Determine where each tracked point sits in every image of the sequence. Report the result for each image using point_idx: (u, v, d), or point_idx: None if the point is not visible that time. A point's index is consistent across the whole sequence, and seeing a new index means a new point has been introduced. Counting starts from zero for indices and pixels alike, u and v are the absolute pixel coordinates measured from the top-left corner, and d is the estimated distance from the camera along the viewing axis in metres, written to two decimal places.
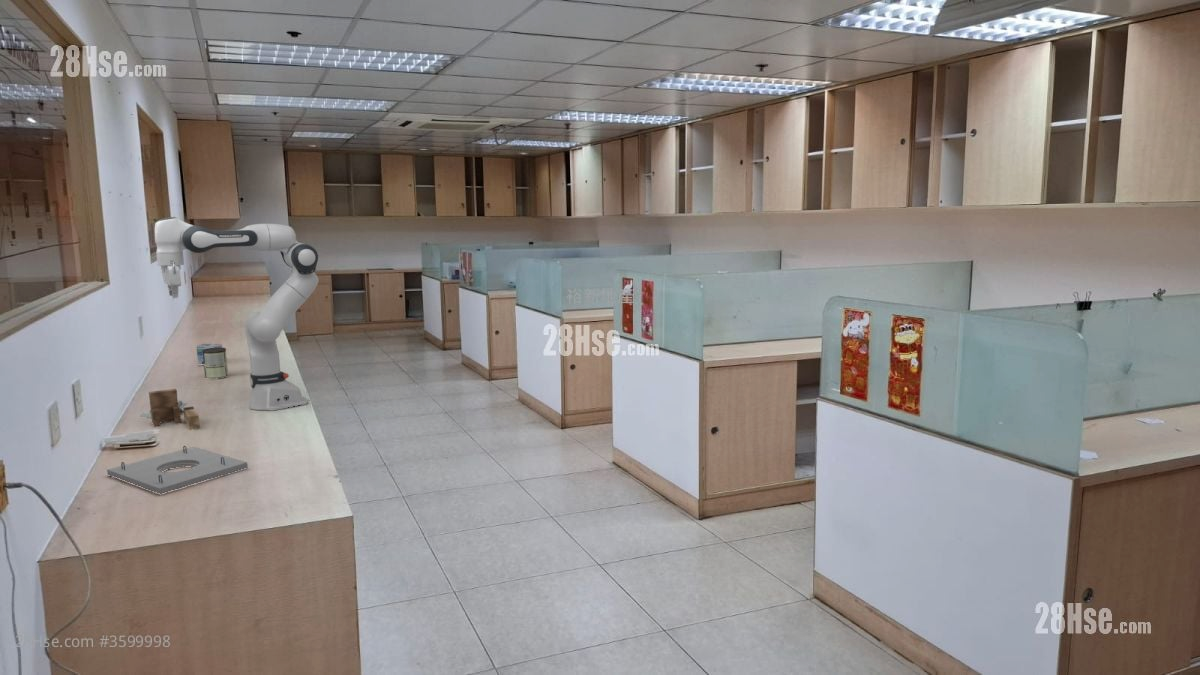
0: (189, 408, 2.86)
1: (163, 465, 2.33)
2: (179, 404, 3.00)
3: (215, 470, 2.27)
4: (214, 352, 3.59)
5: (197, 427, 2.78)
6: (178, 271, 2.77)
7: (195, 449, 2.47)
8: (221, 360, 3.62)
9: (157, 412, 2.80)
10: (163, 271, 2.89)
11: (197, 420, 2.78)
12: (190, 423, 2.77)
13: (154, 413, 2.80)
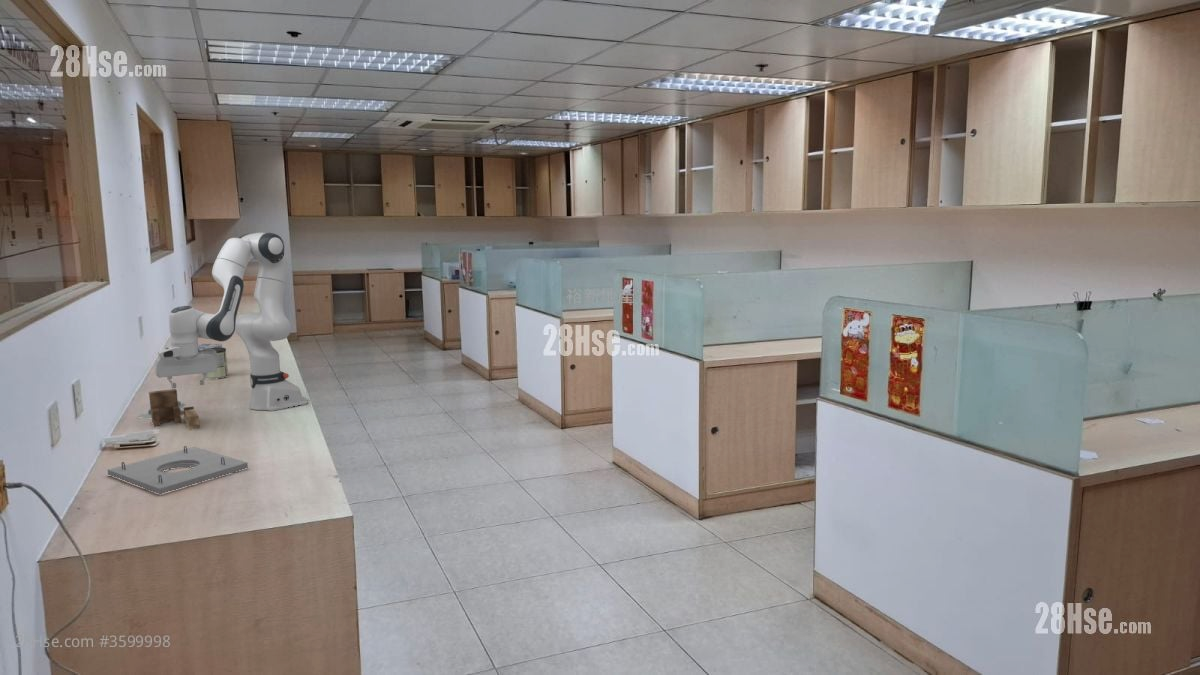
0: (189, 408, 2.86)
1: (163, 465, 2.33)
2: None
3: (215, 470, 2.27)
4: None
5: (197, 427, 2.78)
6: None
7: (196, 449, 2.47)
8: (221, 360, 3.62)
9: (157, 412, 2.80)
10: (162, 365, 2.73)
11: (197, 420, 2.78)
12: (190, 423, 2.77)
13: (154, 413, 2.80)
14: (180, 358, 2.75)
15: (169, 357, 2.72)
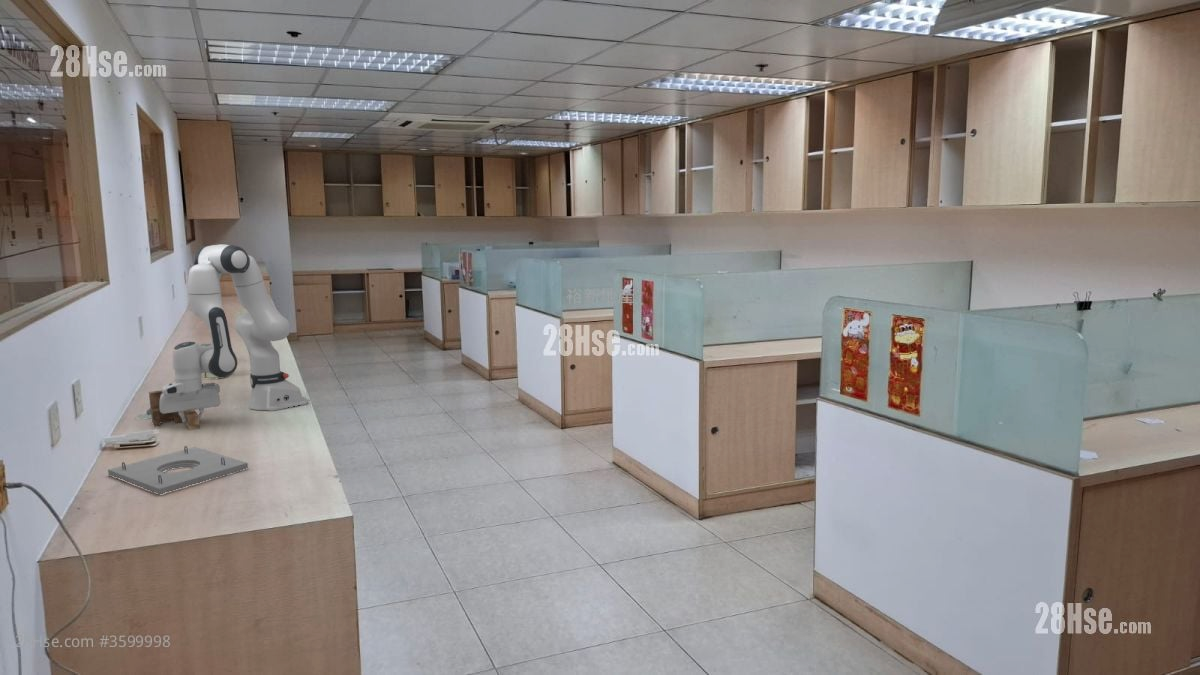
0: None
1: (164, 465, 2.33)
2: None
3: (215, 470, 2.27)
4: None
5: (197, 427, 2.78)
6: None
7: (196, 449, 2.47)
8: None
9: (157, 412, 2.80)
10: (166, 401, 2.75)
11: (197, 420, 2.78)
12: (190, 423, 2.77)
13: (154, 413, 2.80)
14: (184, 394, 2.77)
15: (173, 393, 2.75)
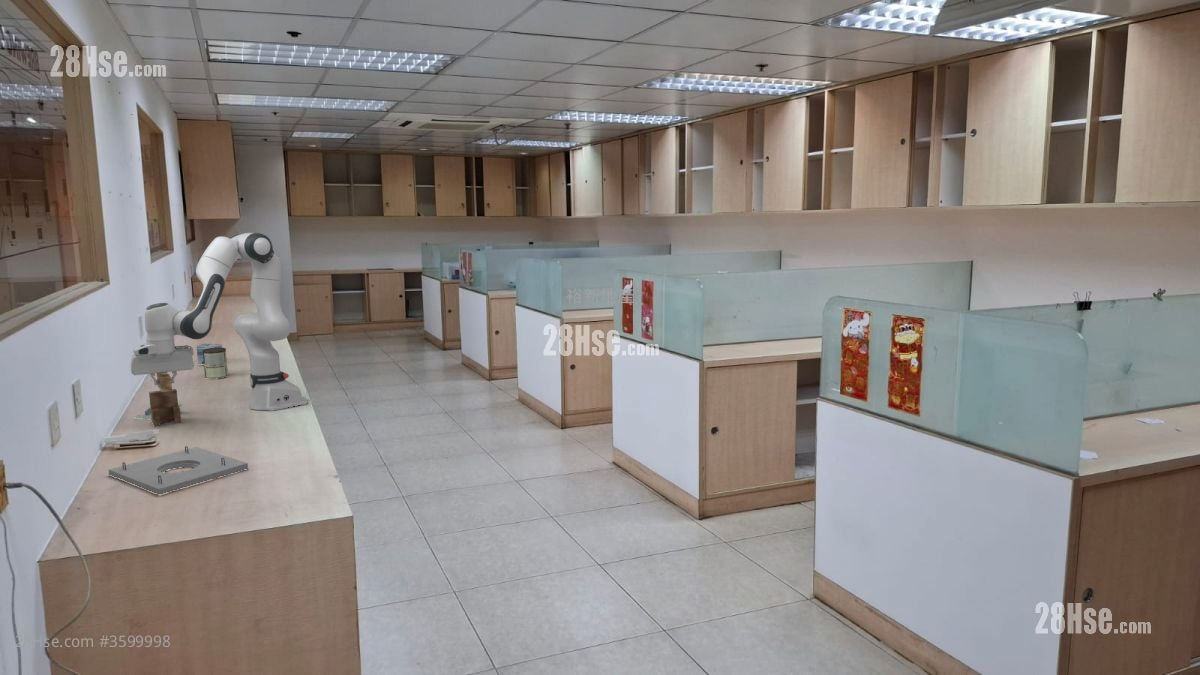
0: None
1: (164, 465, 2.32)
2: None
3: (215, 470, 2.26)
4: (214, 352, 3.59)
5: (169, 389, 2.73)
6: None
7: (197, 449, 2.47)
8: (221, 360, 3.62)
9: (157, 412, 2.80)
10: (138, 362, 2.70)
11: (169, 382, 2.73)
12: (162, 385, 2.72)
13: (154, 413, 2.80)
14: (156, 355, 2.73)
15: (144, 354, 2.70)
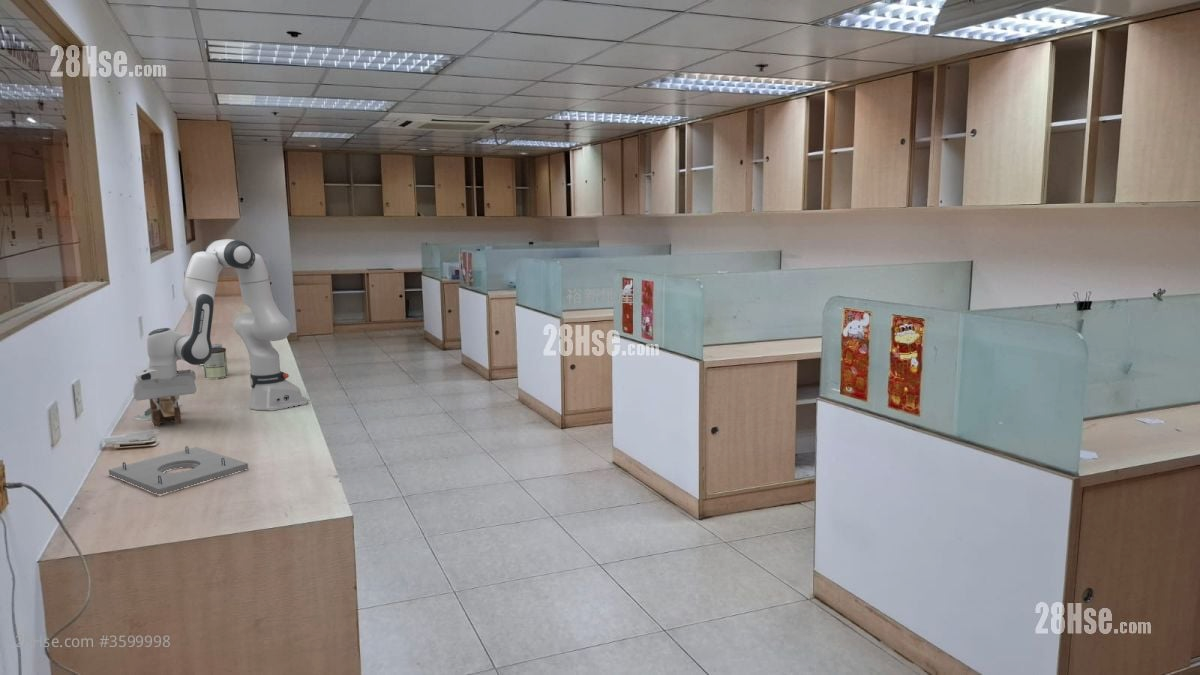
0: None
1: (164, 465, 2.32)
2: None
3: (215, 471, 2.26)
4: (214, 352, 3.59)
5: (172, 414, 2.75)
6: None
7: (198, 449, 2.47)
8: (221, 360, 3.62)
9: (157, 412, 2.80)
10: (140, 387, 2.71)
11: (172, 407, 2.75)
12: (165, 410, 2.73)
13: (154, 413, 2.80)
14: (158, 380, 2.74)
15: (147, 380, 2.71)
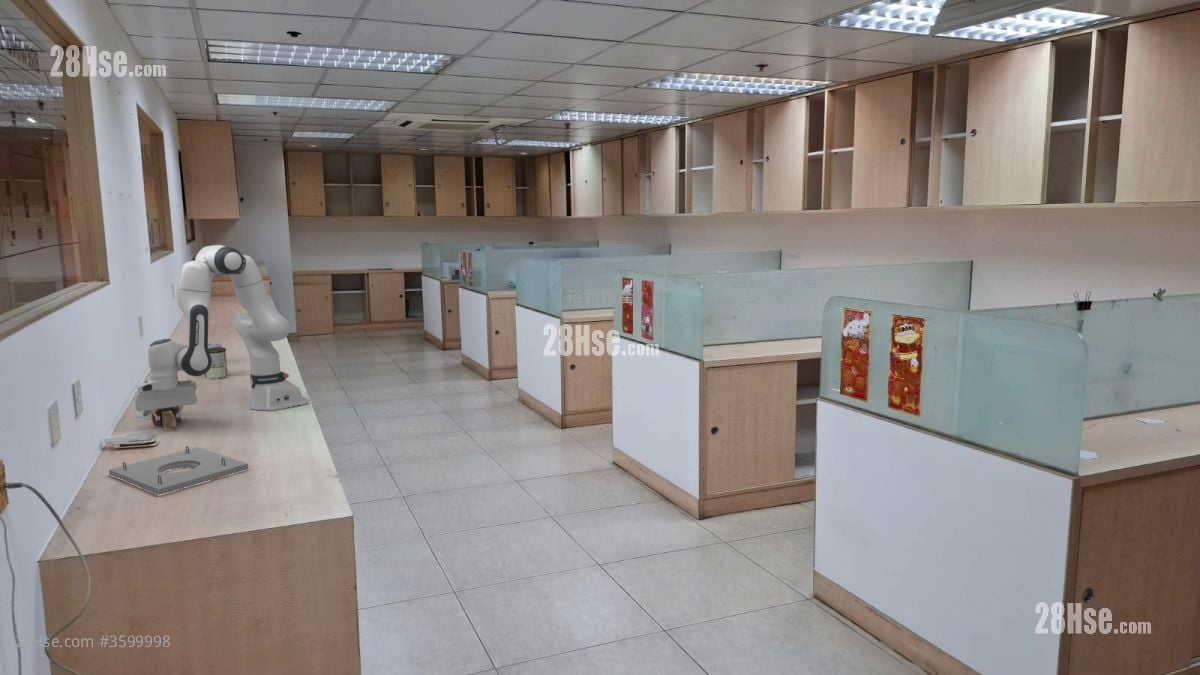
0: (166, 410, 2.84)
1: (164, 465, 2.32)
2: None
3: (215, 471, 2.26)
4: (214, 352, 3.59)
5: (174, 429, 2.76)
6: None
7: (198, 449, 2.47)
8: (221, 360, 3.62)
9: (157, 412, 2.80)
10: (142, 398, 2.72)
11: (174, 422, 2.76)
12: (166, 425, 2.74)
13: None
14: (159, 391, 2.75)
15: (148, 391, 2.72)
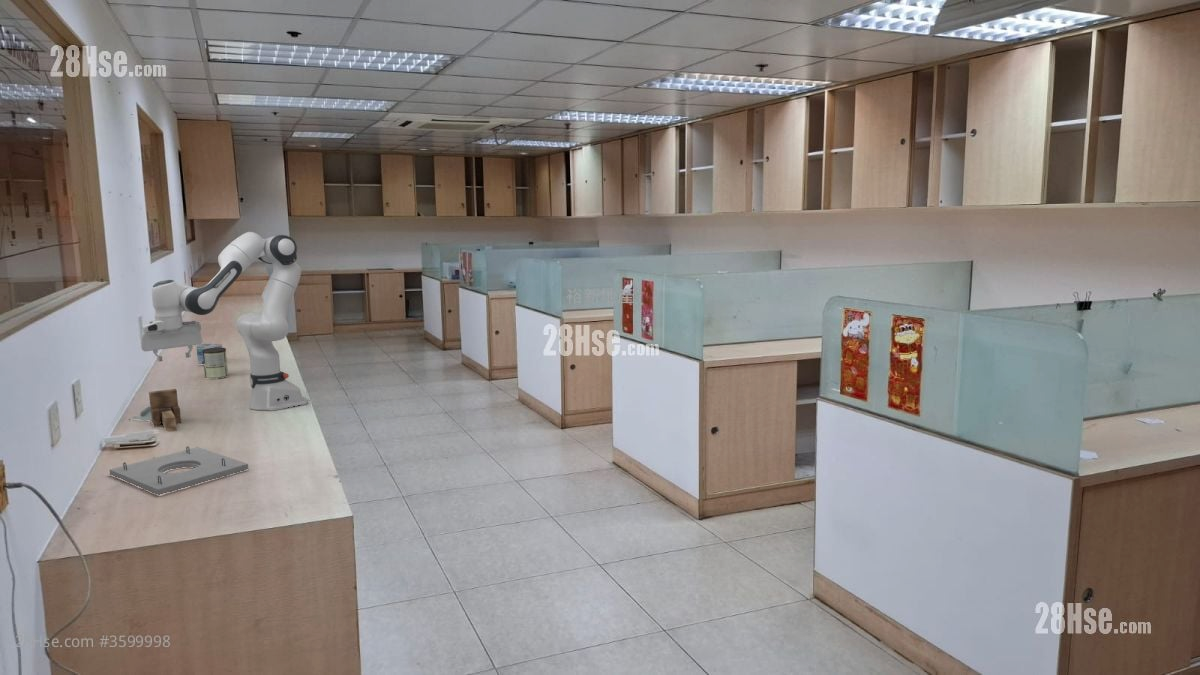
0: (166, 410, 2.84)
1: (165, 466, 2.32)
2: None
3: (215, 471, 2.26)
4: (214, 352, 3.59)
5: (174, 429, 2.76)
6: None
7: (199, 450, 2.46)
8: (221, 360, 3.62)
9: (157, 412, 2.80)
10: (148, 338, 2.77)
11: (174, 422, 2.76)
12: (166, 425, 2.74)
13: (154, 413, 2.80)
14: (165, 331, 2.79)
15: (154, 331, 2.76)
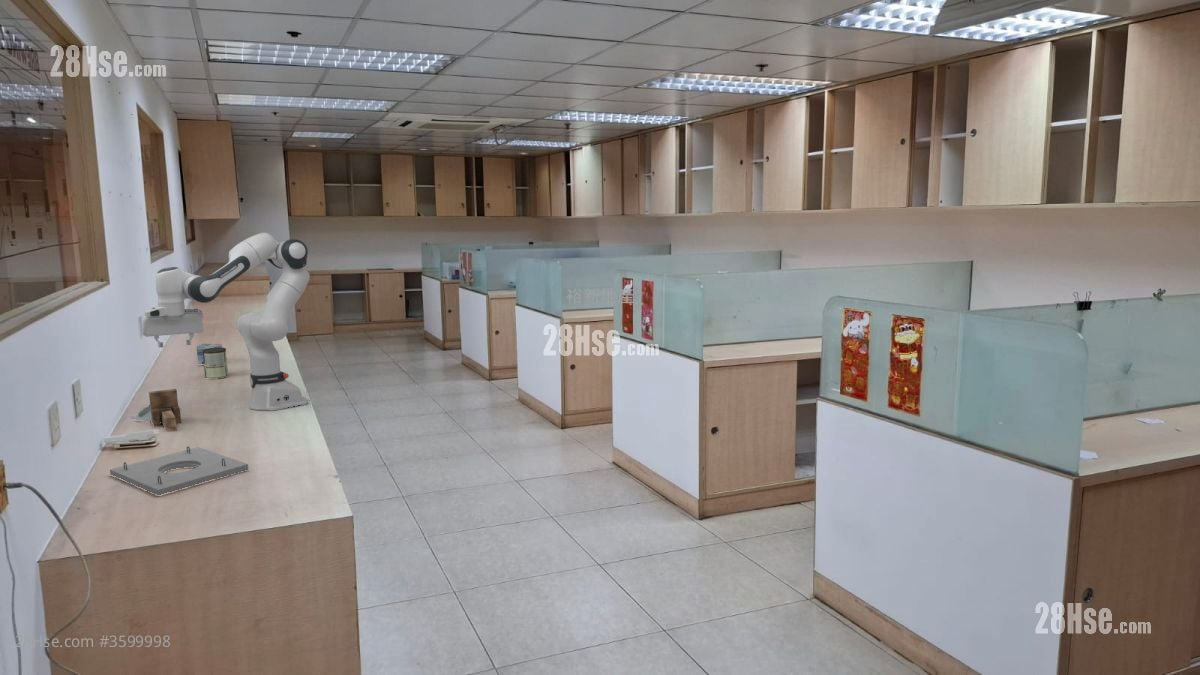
0: (166, 410, 2.84)
1: (165, 466, 2.32)
2: None
3: (215, 471, 2.26)
4: (214, 352, 3.59)
5: (174, 429, 2.76)
6: None
7: (199, 450, 2.46)
8: (221, 360, 3.62)
9: (157, 412, 2.80)
10: (149, 324, 2.79)
11: (174, 422, 2.76)
12: (166, 425, 2.74)
13: (154, 413, 2.80)
14: (167, 318, 2.81)
15: (156, 316, 2.79)
